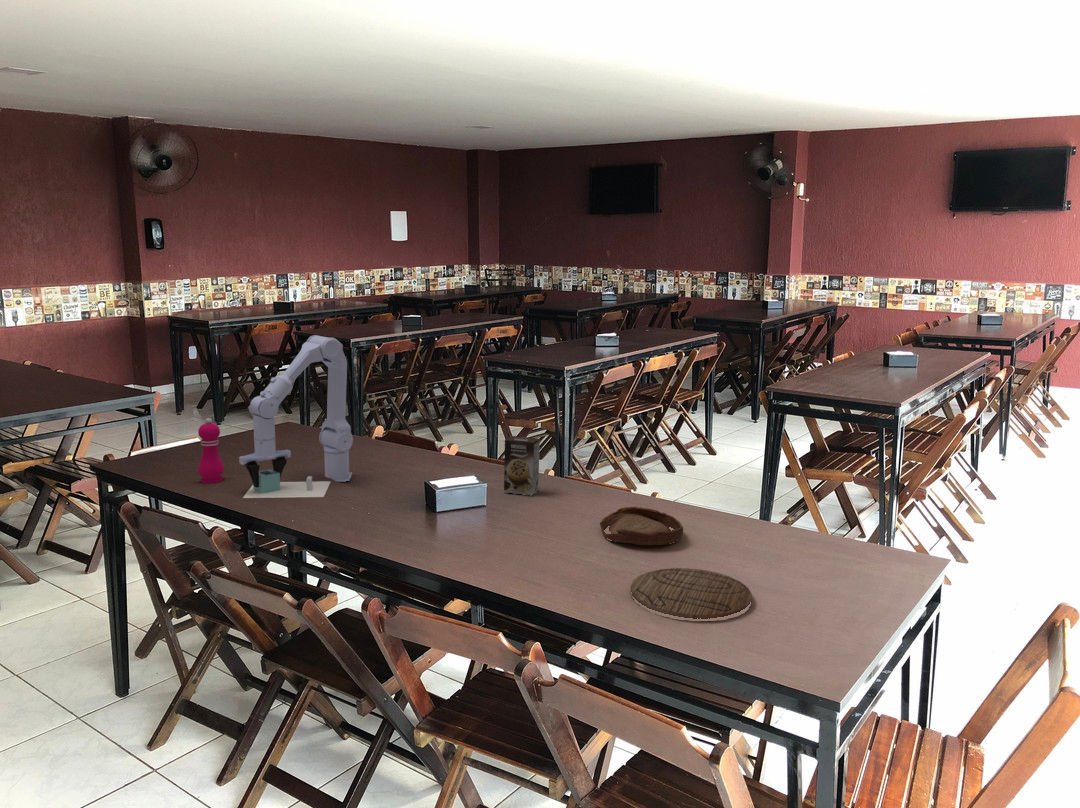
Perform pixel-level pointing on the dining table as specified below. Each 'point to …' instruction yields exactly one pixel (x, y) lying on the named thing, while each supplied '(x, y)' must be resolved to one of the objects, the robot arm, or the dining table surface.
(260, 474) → the teal square tube
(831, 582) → the dining table surface
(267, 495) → the key plate
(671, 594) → the trivet
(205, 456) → the pepper mill
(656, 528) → the basket
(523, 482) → the brown cardboard box
